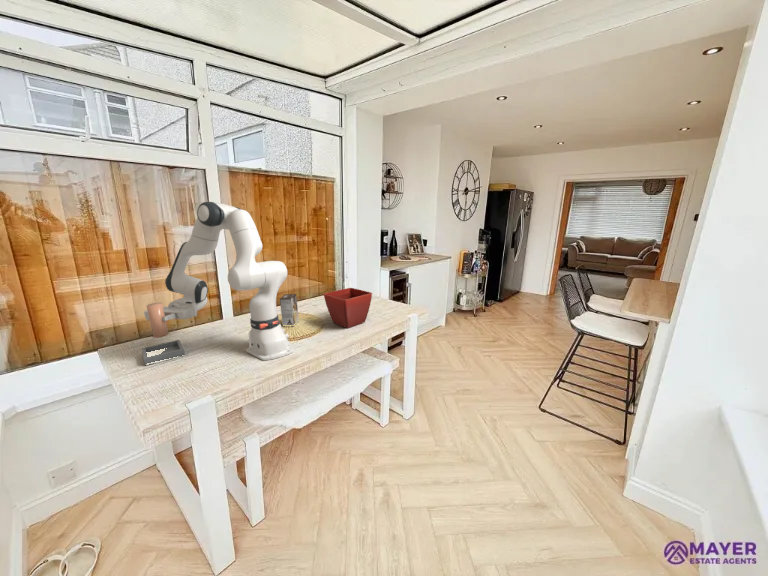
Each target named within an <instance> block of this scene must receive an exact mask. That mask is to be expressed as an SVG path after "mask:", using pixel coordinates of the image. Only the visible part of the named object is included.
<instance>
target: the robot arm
mask: <svg viewBox="0 0 768 576" xmlns="http://www.w3.org/2000/svg"><path fill="white" fill-rule="evenodd" d="M196 214H197V215H196V216H197V217H196V219H195V222H194V224H193V228H192V230H191V236H190V238H189V239H188V240H187V241H185V242H183V243H182V244H181V246H180V248H179V249H178V252H177V255H176V257H175V259H174V261H173V264H172V267H171V269H170V271H169V272H168V275H166V278H165V280H164V284H165V287H166V289H167V290H168V291H169V292H173V293H177V294H180V295H183V297H180V298H178V299H176V300H172V301H170V302H169V303H168V305H167V306H163V309H164V314H165V316H163V317H162V321H166V322H167V321H169V320H188V319H192V318H193V317H197V315H198V311H200V310H201V309H203V308H204V307H206V305H207V303H208V294H209V287H208V284H207V282H206V281H205V280H203V279H200V278H197V277H195V276H191V275H190V274H189V275H188V274H187V273H186V272H185V270H186V268H187V265H188V263H189V262H190V258H192V257H193V256H207V255H210V254H211V253H214V251H216V249H217V246H218V242H219V238H220V232H221V231H222V230H228V231H229V232H230V233H229V234H230V237H231V240H232V242H233V245H234V248H235V249H234V250H235V253H236V257H235V262H234V264H233V266H231V268H230V269H229V271H228V273H227V282H228V284H229V287H231V289H233V290H235V291H251V290H256V289H258V291H257V293H256V294H255V295H253V297H252V298H251V299H250V301H249V302H248V303H249V304H248V305H249V313H250V318H249V320H250V327H251V329H250V330H249V331H248V344H249V347H247V348H246V353H248V354H250V355H252V356H254V357H255V358H258V359H259V360H262V361H268V360H269V361H270V360H275V359H278V358H282V357H284V356H287V355H290V354H292V353H293V352H294V350H295V349H294V347H293V345H292V344H291V342H290V341H289V338H290V335H289V333H285V330H286V329H285V328H283V326H282V325H281V322H280V318H279V315H278V312H277V311H278V310H277V295H278V293H279V289H280V287H281V286H282V284H283V283H284V282H285V281H286V279H287V277H288V268H287V266H286V264H285V263H284V262H282V261H280V260H266V261H260V262H257V261H256V256H258V255H259V254H260V253H261V252H262V250H263V247H264V246H263V242H262V239H261V237H260V234H259V231H258V229H257V226H256V224H255V222H254V220H253V218H252V216H251V214H250V212H248V211H247V210H245V209H242V208H240V207H238V206H233V205H230V204H229V205H228V204H226V203H222V202H214V201H204V202H201V203H200V204H199V206H198V208H197V210H196ZM143 314H144V317H145V319H146V321H148V322H150V319H149V315H148V310H147V309H146V310H145V311H144V313H143Z"/></svg>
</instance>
